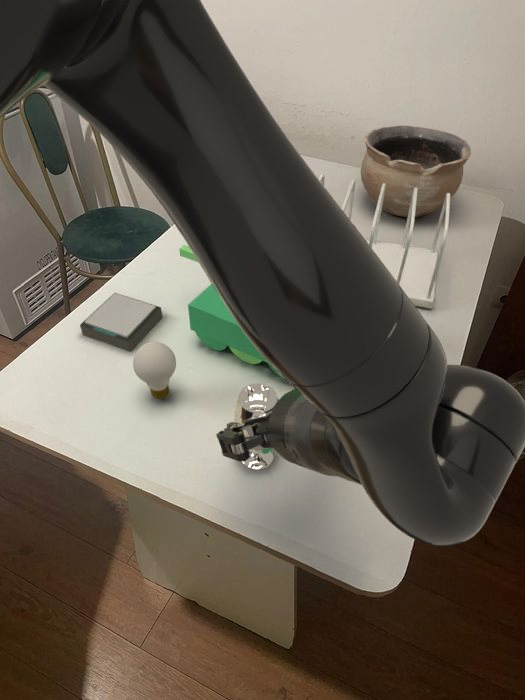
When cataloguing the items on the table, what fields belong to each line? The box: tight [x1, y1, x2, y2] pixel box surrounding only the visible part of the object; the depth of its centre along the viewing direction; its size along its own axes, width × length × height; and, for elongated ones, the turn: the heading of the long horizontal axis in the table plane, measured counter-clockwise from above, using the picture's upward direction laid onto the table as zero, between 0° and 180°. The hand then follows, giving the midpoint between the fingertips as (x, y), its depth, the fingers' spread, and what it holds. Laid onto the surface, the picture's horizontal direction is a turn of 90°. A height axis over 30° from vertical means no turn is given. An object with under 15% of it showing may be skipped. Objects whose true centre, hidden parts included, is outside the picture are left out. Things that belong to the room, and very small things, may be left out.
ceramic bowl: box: [360, 125, 472, 218], centre depth 113 cm, size 22×22×15 cm
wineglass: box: [233, 382, 279, 471], centre depth 65 cm, size 6×6×12 cm
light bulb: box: [132, 341, 177, 400], centre depth 73 cm, size 6×6×10 cm
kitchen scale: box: [79, 292, 163, 352], centre depth 87 cm, size 10×10×3 cm
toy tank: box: [178, 244, 287, 381], centre depth 82 cm, size 18×12×35 cm
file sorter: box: [318, 173, 451, 309], centre depth 95 cm, size 25×17×16 cm
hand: (263, 418), depth 61 cm, fingers open, 8 cm apart
